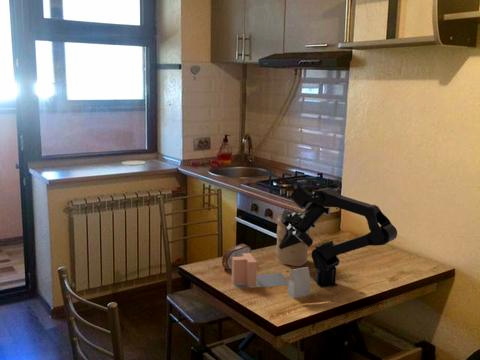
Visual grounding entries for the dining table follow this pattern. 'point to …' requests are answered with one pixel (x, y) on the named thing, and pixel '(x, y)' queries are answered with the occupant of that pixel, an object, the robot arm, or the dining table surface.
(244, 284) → the board
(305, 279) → the grey upright block
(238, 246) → the tin
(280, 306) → the dining table surface
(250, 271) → the t block
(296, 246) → the container
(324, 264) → the robot arm
